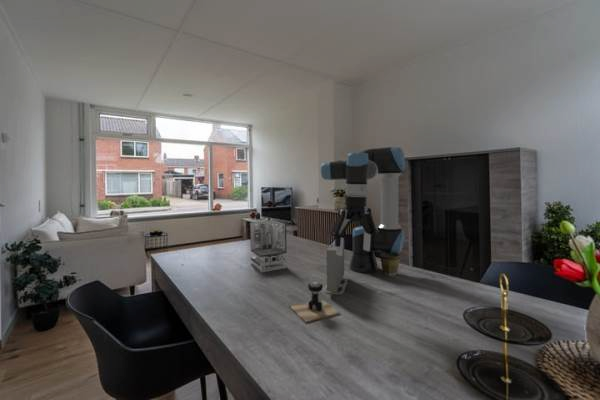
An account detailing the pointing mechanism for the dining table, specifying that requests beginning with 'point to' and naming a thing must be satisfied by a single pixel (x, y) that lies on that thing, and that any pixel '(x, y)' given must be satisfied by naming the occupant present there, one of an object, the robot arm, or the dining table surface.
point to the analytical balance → (268, 245)
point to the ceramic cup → (390, 263)
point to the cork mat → (313, 311)
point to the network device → (335, 271)
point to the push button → (315, 296)
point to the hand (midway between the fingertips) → (353, 252)
